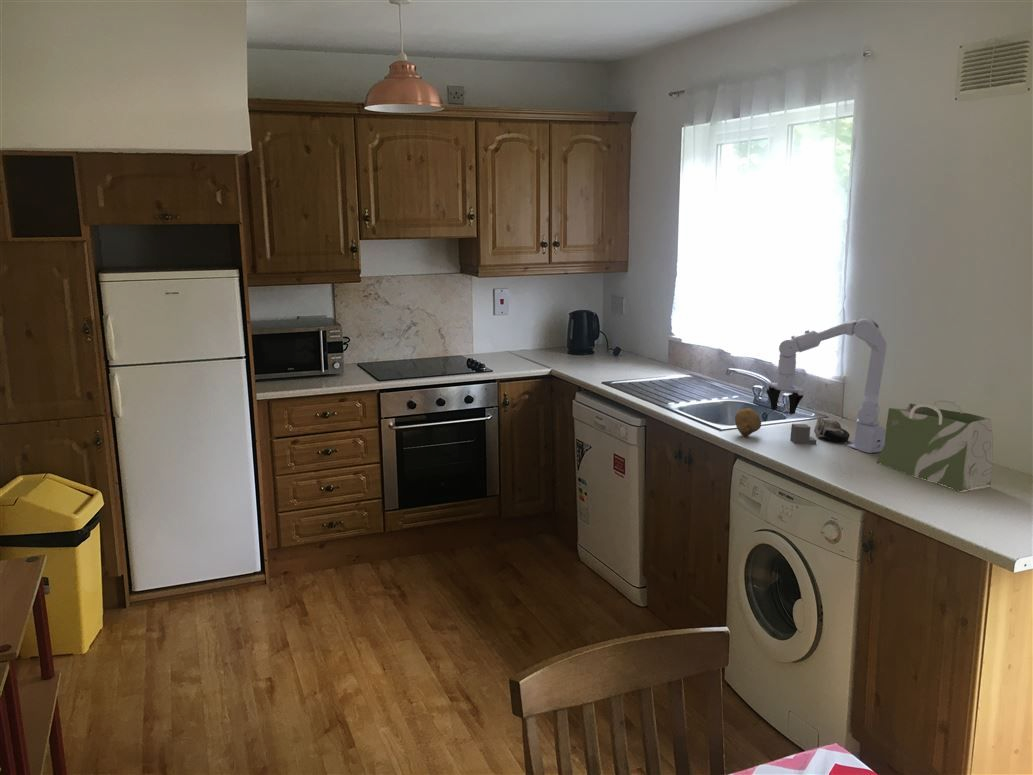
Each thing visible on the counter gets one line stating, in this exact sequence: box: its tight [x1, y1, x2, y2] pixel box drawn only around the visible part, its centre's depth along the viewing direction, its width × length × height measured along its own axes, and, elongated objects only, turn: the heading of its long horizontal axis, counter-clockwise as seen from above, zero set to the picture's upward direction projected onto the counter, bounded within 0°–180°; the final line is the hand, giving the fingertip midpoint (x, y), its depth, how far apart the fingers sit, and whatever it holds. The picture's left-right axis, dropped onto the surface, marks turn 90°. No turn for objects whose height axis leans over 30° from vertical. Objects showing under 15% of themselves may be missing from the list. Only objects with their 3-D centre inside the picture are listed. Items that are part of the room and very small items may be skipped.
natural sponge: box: [734, 407, 762, 437], centre depth 306 cm, size 9×9×10 cm
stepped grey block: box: [789, 423, 818, 445], centre depth 299 cm, size 4×8×6 cm, turn 90°
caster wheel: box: [813, 414, 850, 444], centre depth 305 cm, size 7×11×10 cm
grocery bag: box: [876, 398, 994, 491], centre depth 263 cm, size 32×14×23 cm, turn 25°
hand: (783, 411), depth 303 cm, fingers open, 7 cm apart
